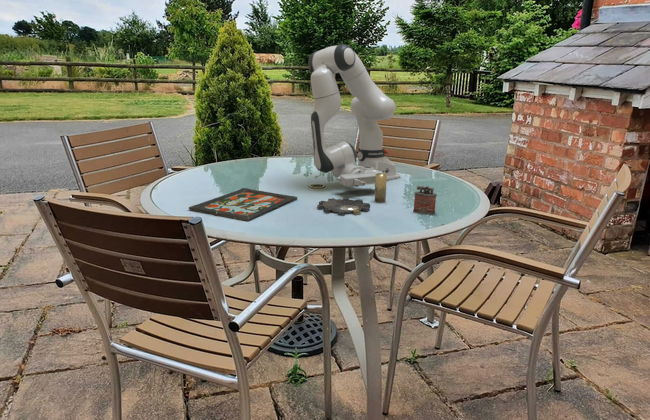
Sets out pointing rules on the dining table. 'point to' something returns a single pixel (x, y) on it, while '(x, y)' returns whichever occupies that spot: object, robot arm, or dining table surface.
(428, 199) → the lighter
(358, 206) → the sprocket plate
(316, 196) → the dining table surface
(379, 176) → the pin
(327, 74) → the robot arm
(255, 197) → the painting
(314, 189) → the dining table surface
